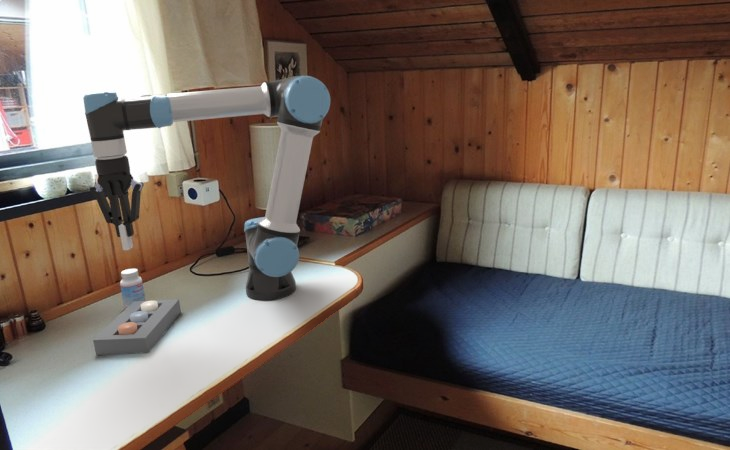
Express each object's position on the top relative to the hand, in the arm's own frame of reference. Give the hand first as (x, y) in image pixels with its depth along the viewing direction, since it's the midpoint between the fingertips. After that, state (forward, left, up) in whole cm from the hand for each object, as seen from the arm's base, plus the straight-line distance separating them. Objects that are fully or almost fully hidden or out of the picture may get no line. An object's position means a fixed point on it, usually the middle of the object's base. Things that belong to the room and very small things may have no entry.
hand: (128, 248), depth 146 cm
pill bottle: (+9, -17, -24) cm, 31 cm away
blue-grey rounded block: (0, 0, -22) cm, 22 cm away
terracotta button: (0, +7, -22) cm, 23 cm away
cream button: (0, -7, -22) cm, 23 cm away
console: (0, 0, -23) cm, 23 cm away
